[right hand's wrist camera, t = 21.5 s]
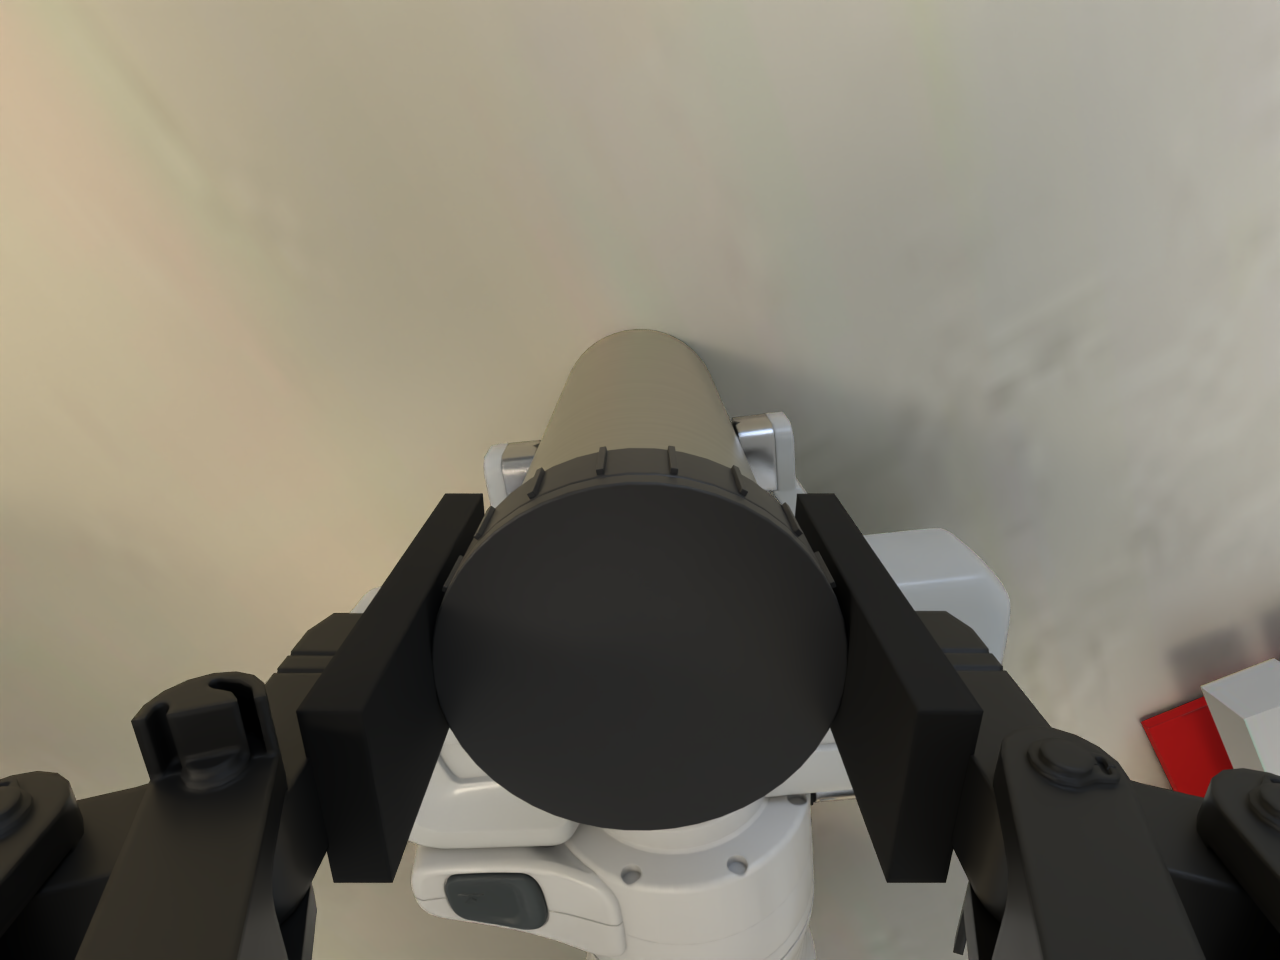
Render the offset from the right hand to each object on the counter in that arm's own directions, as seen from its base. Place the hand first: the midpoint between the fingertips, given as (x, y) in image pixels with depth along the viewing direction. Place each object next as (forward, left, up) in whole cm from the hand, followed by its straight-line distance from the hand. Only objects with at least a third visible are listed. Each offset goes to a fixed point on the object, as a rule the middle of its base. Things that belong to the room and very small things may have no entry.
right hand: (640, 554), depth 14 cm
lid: (0, 0, +4) cm, 4 cm away
